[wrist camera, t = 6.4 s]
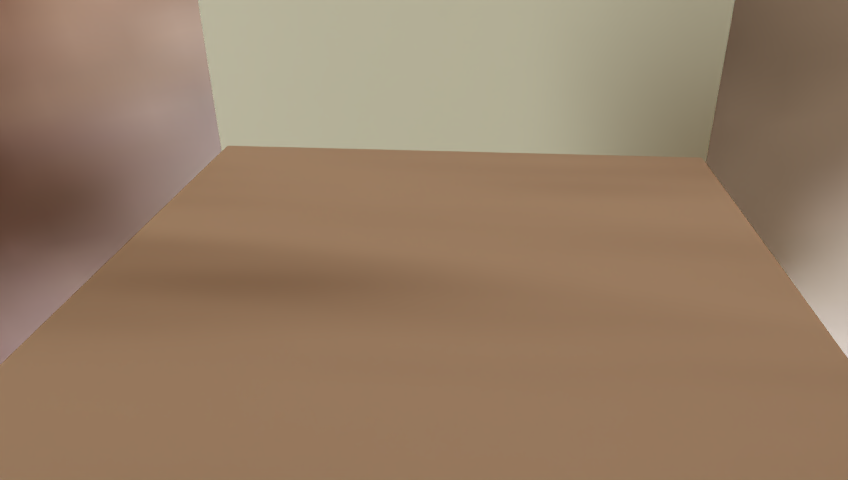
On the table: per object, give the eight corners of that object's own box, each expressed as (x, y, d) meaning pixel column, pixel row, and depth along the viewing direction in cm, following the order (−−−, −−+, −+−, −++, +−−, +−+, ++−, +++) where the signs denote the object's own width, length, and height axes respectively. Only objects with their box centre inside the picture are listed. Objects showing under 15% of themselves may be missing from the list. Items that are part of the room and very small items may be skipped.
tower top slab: (645, 331, 19) (664, 392, 17) (284, 315, 20) (256, 370, 18) (709, -76, 14) (747, -68, 12) (234, -71, 15) (188, -62, 13)
